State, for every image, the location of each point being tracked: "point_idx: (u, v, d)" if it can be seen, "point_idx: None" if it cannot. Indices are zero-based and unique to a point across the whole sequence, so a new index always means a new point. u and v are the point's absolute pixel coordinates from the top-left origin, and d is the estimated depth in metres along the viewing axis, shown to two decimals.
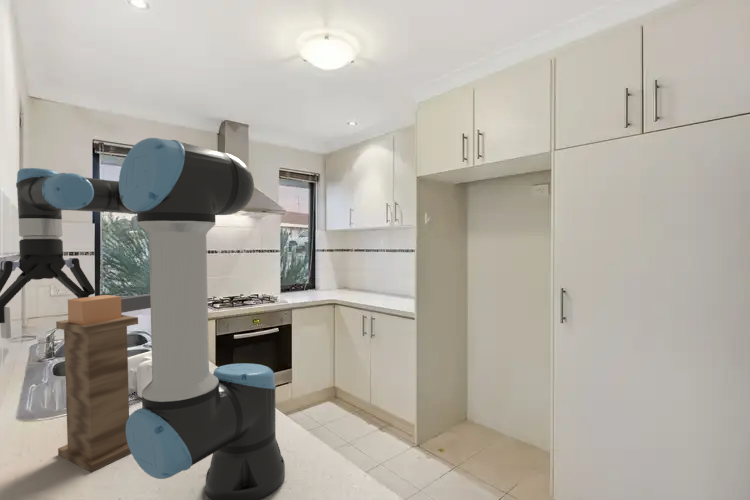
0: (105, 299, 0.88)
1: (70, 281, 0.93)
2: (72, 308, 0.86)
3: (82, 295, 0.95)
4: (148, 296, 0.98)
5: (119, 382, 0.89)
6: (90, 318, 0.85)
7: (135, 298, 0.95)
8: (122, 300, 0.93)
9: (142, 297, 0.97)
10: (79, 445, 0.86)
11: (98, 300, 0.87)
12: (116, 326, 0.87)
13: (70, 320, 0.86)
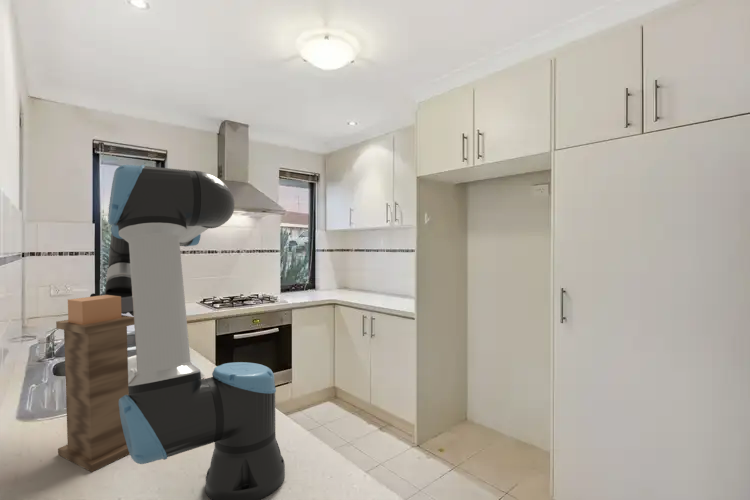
0: (105, 299, 0.88)
1: None
2: (72, 308, 0.86)
3: None
4: None
5: (119, 382, 0.89)
6: (90, 318, 0.85)
7: None
8: (122, 300, 0.93)
9: None
10: (79, 445, 0.86)
11: (98, 300, 0.87)
12: (116, 326, 0.87)
13: (70, 320, 0.86)
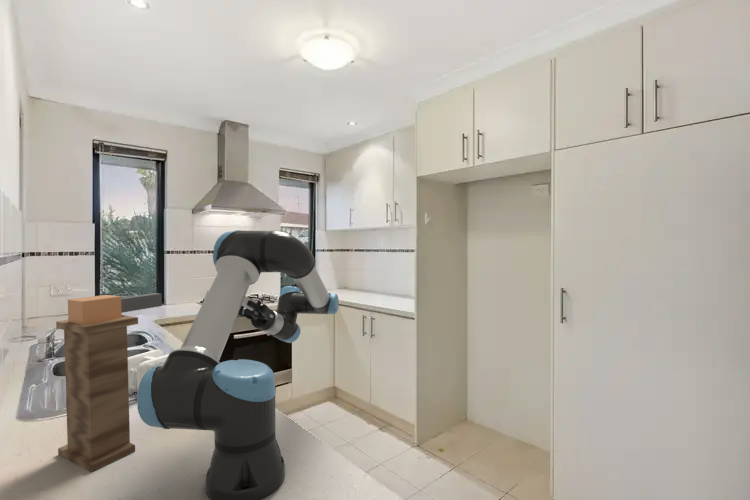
0: (105, 299, 0.88)
1: None
2: (72, 308, 0.86)
3: None
4: (148, 296, 0.98)
5: (119, 382, 0.89)
6: (90, 318, 0.85)
7: (135, 298, 0.95)
8: (122, 300, 0.93)
9: (142, 297, 0.97)
10: (79, 445, 0.86)
11: (98, 300, 0.87)
12: (116, 326, 0.87)
13: (70, 320, 0.86)
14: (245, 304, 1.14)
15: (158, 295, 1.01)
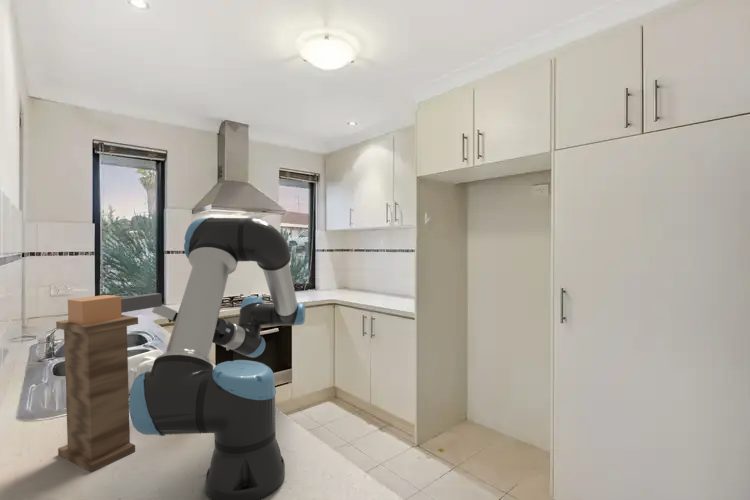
0: (105, 299, 0.88)
1: None
2: (72, 308, 0.86)
3: None
4: (148, 296, 0.98)
5: (119, 382, 0.89)
6: (90, 318, 0.85)
7: (135, 298, 0.95)
8: (122, 300, 0.93)
9: (142, 297, 0.97)
10: (79, 445, 0.86)
11: (98, 300, 0.87)
12: (116, 326, 0.87)
13: (70, 320, 0.86)
14: None
15: (158, 295, 1.01)
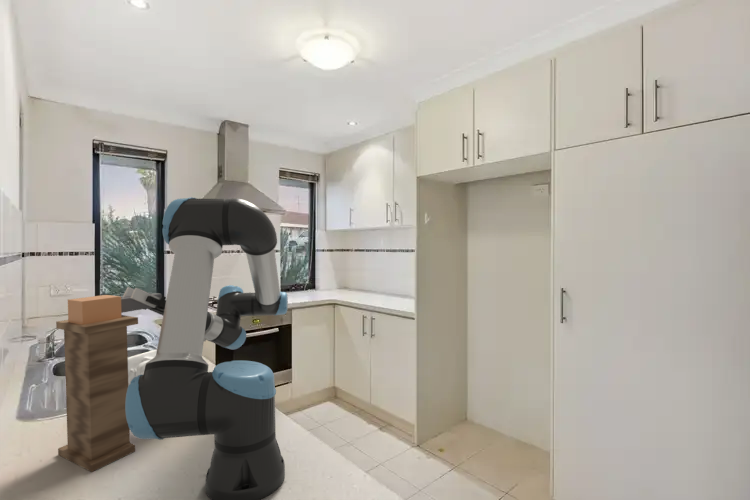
0: (105, 299, 0.88)
1: None
2: (72, 308, 0.86)
3: None
4: None
5: (119, 382, 0.89)
6: (90, 318, 0.85)
7: None
8: (122, 300, 0.93)
9: None
10: (79, 445, 0.86)
11: (98, 300, 0.87)
12: (116, 326, 0.87)
13: (70, 320, 0.86)
14: (143, 300, 0.96)
15: (158, 295, 1.01)
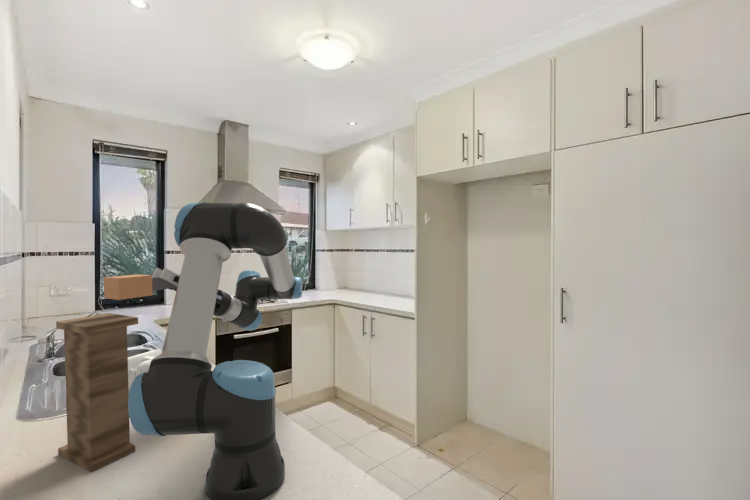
0: (138, 277, 0.95)
1: None
2: (108, 285, 0.93)
3: None
4: None
5: (119, 382, 0.89)
6: (125, 294, 0.92)
7: None
8: (152, 279, 0.99)
9: None
10: (79, 445, 0.86)
11: (132, 278, 0.93)
12: (116, 326, 0.87)
13: (106, 296, 0.93)
14: (171, 280, 1.03)
15: None
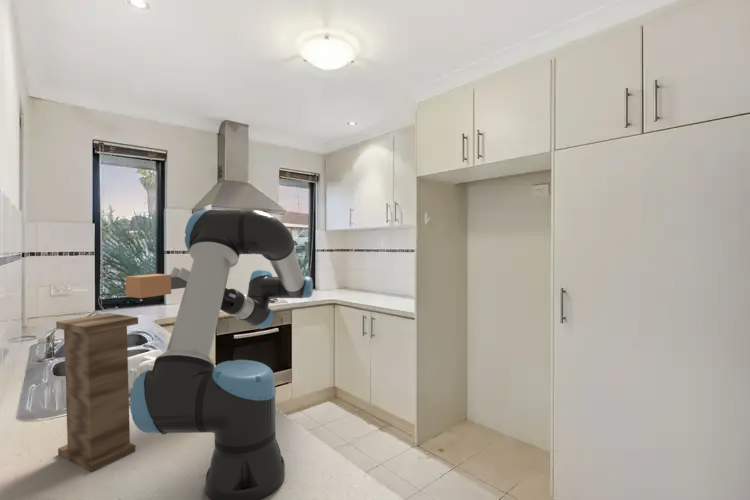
0: (158, 276, 0.99)
1: None
2: (130, 284, 0.97)
3: None
4: None
5: (119, 382, 0.89)
6: (146, 292, 0.96)
7: None
8: (171, 278, 1.04)
9: None
10: (79, 445, 0.86)
11: (152, 277, 0.97)
12: (116, 326, 0.87)
13: (128, 295, 0.97)
14: (188, 279, 1.07)
15: None
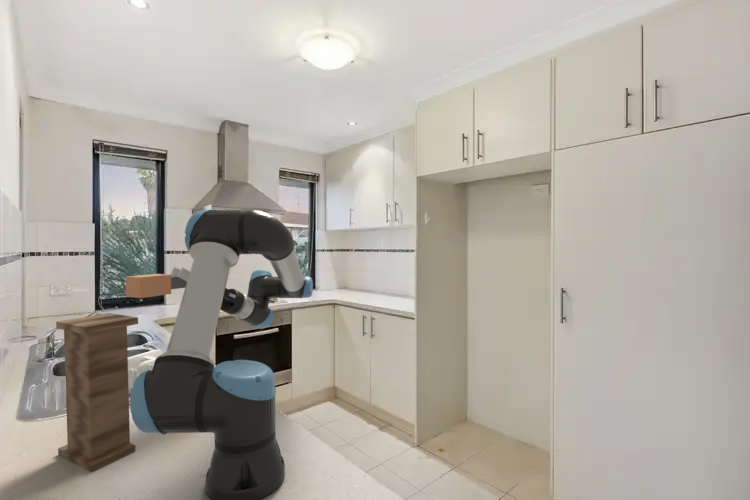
0: (158, 276, 0.99)
1: None
2: (130, 284, 0.97)
3: None
4: None
5: (119, 382, 0.89)
6: (146, 292, 0.96)
7: None
8: (171, 278, 1.04)
9: None
10: (79, 445, 0.86)
11: (152, 277, 0.97)
12: (116, 326, 0.87)
13: (128, 295, 0.97)
14: (188, 279, 1.07)
15: None
